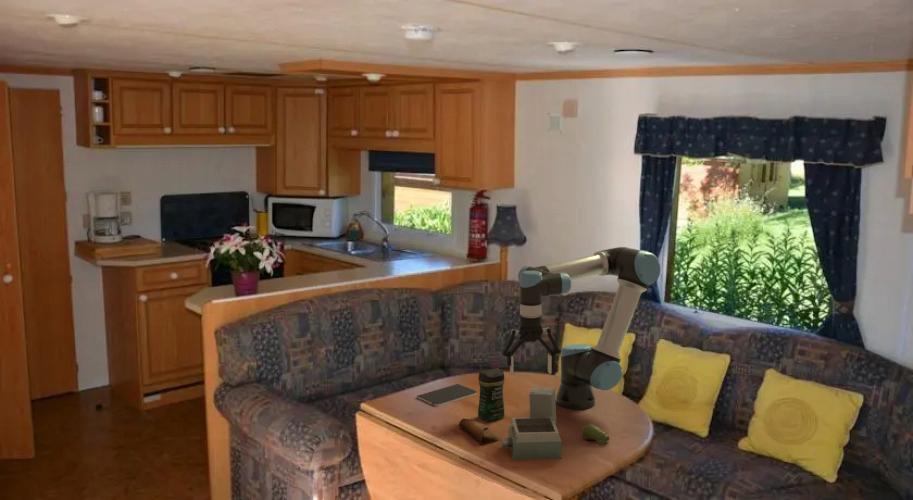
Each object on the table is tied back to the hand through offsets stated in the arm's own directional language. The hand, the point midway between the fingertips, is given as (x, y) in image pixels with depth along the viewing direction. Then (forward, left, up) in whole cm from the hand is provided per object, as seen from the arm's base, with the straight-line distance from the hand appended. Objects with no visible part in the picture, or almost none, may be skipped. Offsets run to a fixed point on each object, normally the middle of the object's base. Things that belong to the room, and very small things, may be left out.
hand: (530, 373), depth 286 cm
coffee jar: (+13, -13, -22) cm, 28 cm away
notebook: (+29, -37, -22) cm, 52 cm away
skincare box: (-4, +2, -22) cm, 22 cm away
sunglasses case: (+18, +2, -22) cm, 29 cm away
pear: (-21, +10, -22) cm, 32 cm away
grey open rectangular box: (+2, +17, -21) cm, 27 cm away
